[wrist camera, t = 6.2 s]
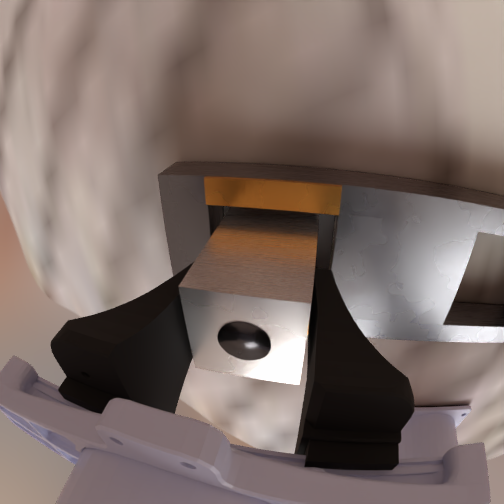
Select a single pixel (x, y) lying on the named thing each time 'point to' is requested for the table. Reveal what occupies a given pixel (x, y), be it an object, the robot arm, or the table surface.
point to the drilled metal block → (253, 294)
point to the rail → (357, 239)
